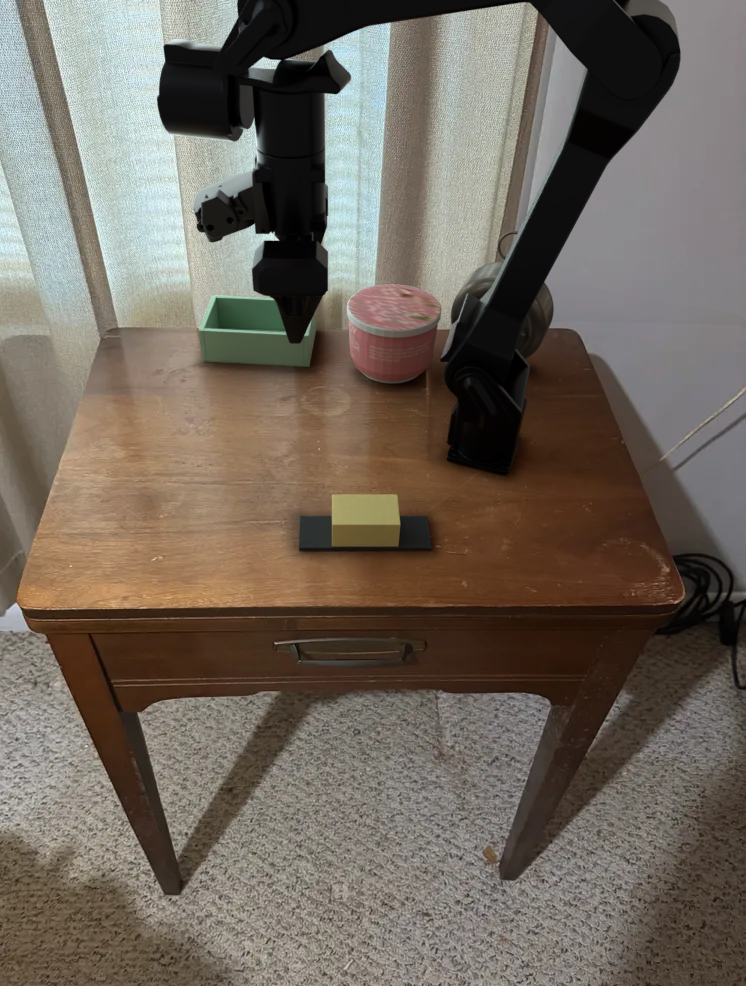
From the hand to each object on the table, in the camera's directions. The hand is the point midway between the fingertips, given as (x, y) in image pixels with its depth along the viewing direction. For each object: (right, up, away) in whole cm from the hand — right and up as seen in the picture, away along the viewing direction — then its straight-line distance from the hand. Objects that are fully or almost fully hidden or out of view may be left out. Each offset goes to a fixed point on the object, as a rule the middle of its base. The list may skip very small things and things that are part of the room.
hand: (296, 317), depth 74 cm
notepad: (+7, -21, -4) cm, 22 cm away
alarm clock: (+22, -1, +16) cm, 28 cm away
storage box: (-5, +2, +18) cm, 19 cm away
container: (+10, -1, +16) cm, 19 cm away
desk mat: (+7, -21, -4) cm, 22 cm away
